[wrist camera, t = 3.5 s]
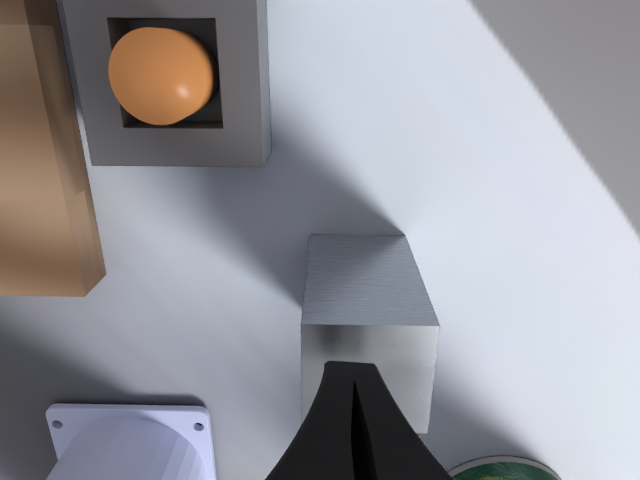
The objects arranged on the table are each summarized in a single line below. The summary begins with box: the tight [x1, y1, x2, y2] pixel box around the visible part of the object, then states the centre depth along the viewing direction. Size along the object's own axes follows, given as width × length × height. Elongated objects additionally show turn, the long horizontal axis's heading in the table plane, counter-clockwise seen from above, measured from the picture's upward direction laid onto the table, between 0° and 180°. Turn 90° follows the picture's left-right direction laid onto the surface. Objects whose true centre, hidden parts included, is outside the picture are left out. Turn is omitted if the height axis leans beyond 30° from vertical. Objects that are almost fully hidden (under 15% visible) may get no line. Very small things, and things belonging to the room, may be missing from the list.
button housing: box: [62, 0, 272, 167], centre depth 17 cm, size 6×6×2 cm
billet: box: [301, 234, 440, 434], centre depth 18 cm, size 4×4×7 cm
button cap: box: [108, 27, 219, 125], centre depth 16 cm, size 3×3×2 cm
